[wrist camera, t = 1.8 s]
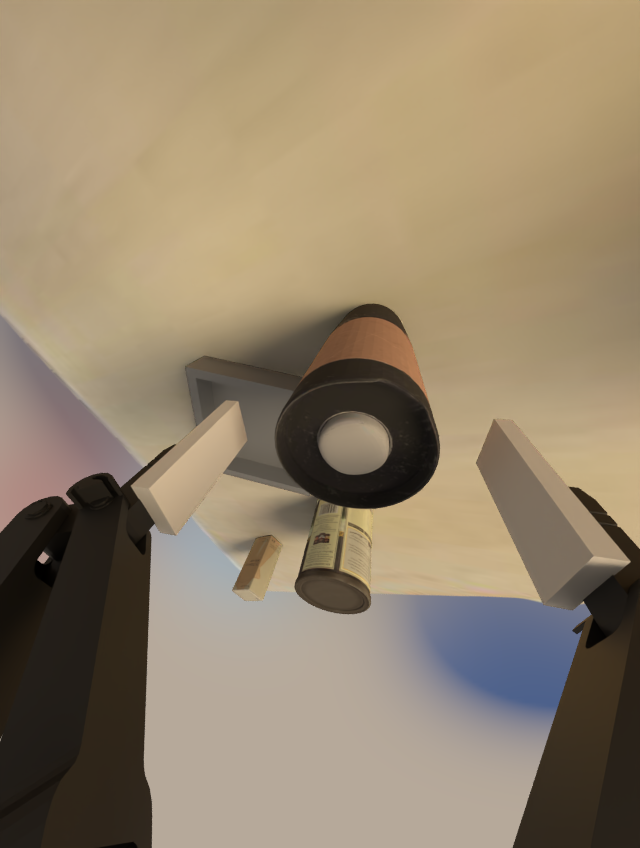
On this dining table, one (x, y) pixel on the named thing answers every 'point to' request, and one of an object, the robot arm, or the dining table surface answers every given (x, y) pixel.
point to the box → (258, 569)
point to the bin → (246, 413)
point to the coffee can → (337, 560)
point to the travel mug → (360, 417)
